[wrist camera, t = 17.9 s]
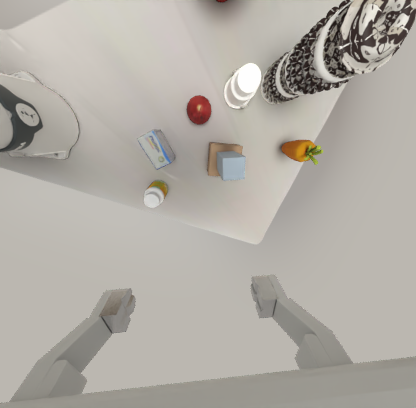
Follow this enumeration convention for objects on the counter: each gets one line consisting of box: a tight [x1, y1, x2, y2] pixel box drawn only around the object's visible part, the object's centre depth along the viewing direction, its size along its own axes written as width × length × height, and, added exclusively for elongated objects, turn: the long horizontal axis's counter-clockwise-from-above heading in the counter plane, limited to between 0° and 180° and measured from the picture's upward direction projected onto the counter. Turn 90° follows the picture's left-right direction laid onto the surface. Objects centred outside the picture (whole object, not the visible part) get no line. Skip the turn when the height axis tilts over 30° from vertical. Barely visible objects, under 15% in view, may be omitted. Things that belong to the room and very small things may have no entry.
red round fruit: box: [187, 95, 211, 124], centre depth 36 cm, size 6×6×8 cm
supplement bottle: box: [144, 180, 168, 208], centre depth 44 cm, size 5×5×10 cm
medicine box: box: [137, 130, 175, 170], centre depth 39 cm, size 8×4×9 cm, turn 25°
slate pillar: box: [217, 151, 246, 181], centre depth 35 cm, size 4×4×10 cm
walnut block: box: [207, 142, 243, 176], centre depth 43 cm, size 8×8×6 cm
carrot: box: [282, 140, 323, 165], centre depth 38 cm, size 5×5×15 cm
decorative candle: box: [261, 0, 416, 104], centre depth 27 cm, size 9×9×25 cm
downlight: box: [224, 63, 261, 109], centre depth 34 cm, size 8×7×10 cm
